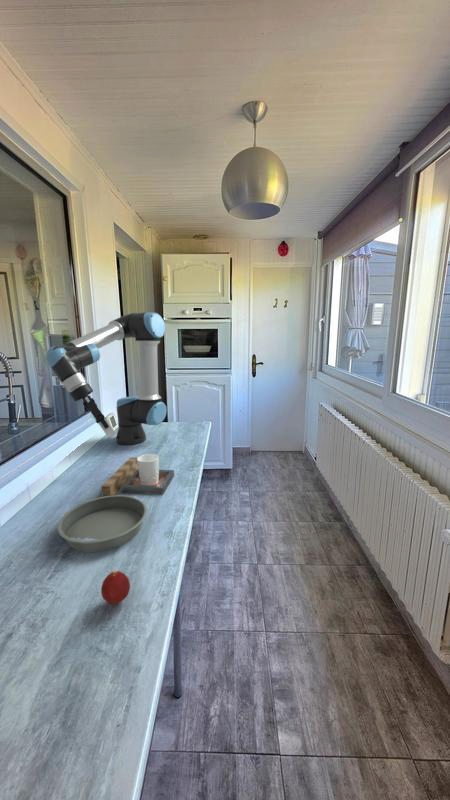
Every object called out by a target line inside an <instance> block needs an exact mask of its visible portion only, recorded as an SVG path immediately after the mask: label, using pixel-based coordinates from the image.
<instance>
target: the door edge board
mask: <svg viewBox="0 0 450 800" xmlns="http://www.w3.org/2000/svg"><path fill="white" fill-rule="evenodd" d="M137 458H138V457H130V456H129V457H128V459H127V460H126V461H125V462H124V463H123V464H122V465H121V466H120V467H119V468H118V469H117V470H116V471H115V472H114V473H113V474H112V475H111V476H110V477H109V478H108V479H107V480H106V481H105V482H104V483H103V484H102V485H101V497H105V496H113V495H118V493H119V492H120V490H121V489H123V485H124V484H125V483H126V482H127V481H128V480H129V478H130V477H131V476H132V475H133V474H134V473H135V471H136V470H137V469H138V463H137Z"/></svg>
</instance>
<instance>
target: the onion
mask: <svg viewBox="0 0 450 800" xmlns="http://www.w3.org/2000/svg"><path fill="white" fill-rule="evenodd" d="M130 589H131V583H130V580H129V577H128V576H127V575H126V574H125V573H124V572H123V571H118V570H112V571H111V572H110V573H109V574H107V576H106V577H105V578H104V579H103V582H102V585H101V589H100V591H101V596H102V599H103V600H104V601H105V602H106V603H107V604H112V605H114V604H115V605H118V604H120V603H121V602H123V601H124V600H125V599H126V598H127V597H128V595H129V592H130Z"/></svg>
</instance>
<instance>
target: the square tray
mask: <svg viewBox="0 0 450 800" xmlns="http://www.w3.org/2000/svg"><path fill="white" fill-rule="evenodd" d="M174 477H175V469H159V482H158V483H157V484H156V485H153V486H151V485H141V483H140V477H139V471H138V469H137V470H136V471H135V473H134V474H133V475H132V476H131V477H130V478H129V480H128V481H127V482H126V483H125V484H124V485H123V487H122V493H124V494H127V493H128V494H145V495H146V494H149V495H151V494H153V495H164V494H165V492H166V491H167V489H168V487H169V486H170V485H171V482H172V481H173V479H174Z"/></svg>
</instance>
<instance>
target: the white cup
mask: <svg viewBox="0 0 450 800" xmlns="http://www.w3.org/2000/svg"><path fill="white" fill-rule="evenodd" d="M136 458H137V463H138V471H139V477H140V483H141V485H151V486H153V485H156V484H157V483H158V482H159V470H160V462H159V461H160V459H159V458H160V457H159V455H158V454H155V453H146V454H142V455H139V456H137V457H136Z"/></svg>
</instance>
